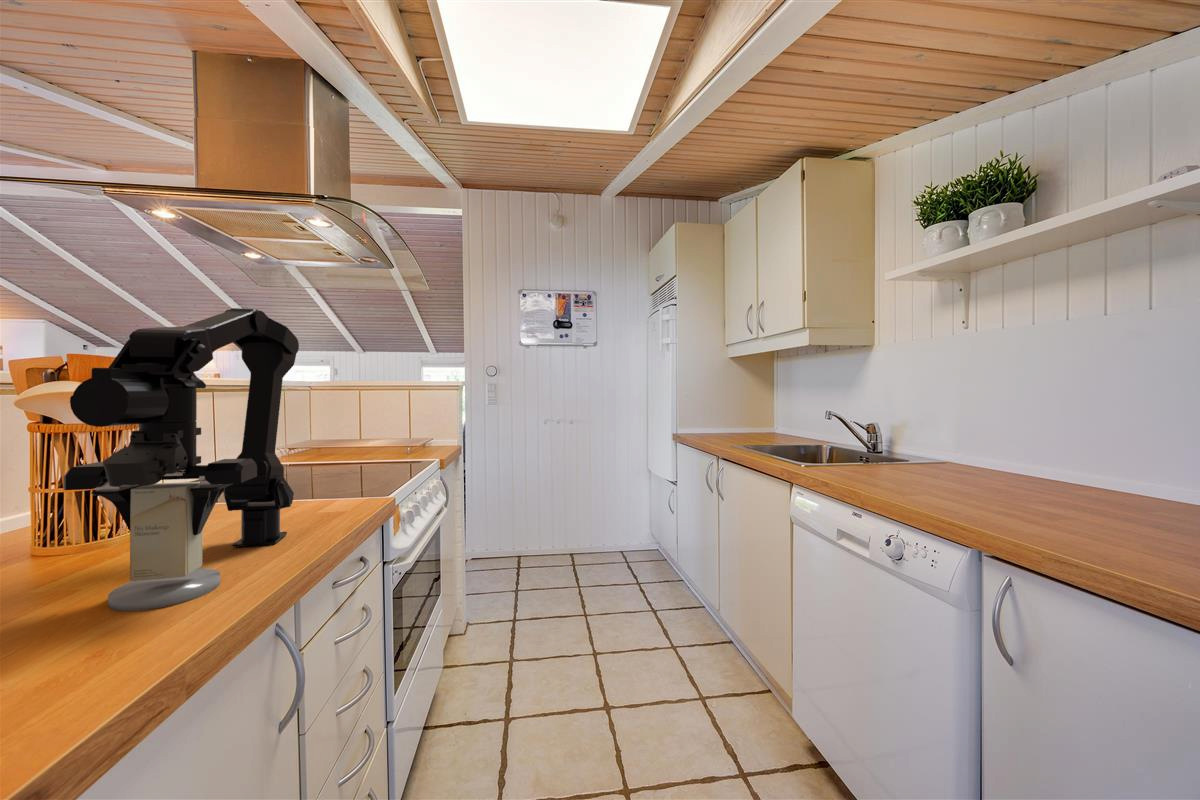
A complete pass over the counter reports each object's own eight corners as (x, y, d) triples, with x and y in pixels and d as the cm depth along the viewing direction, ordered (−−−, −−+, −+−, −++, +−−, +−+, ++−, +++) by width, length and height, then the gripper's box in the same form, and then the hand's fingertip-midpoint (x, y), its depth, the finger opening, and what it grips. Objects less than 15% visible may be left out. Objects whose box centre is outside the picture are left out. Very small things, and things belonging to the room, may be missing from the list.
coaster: (143, 581, 66) (143, 572, 66) (234, 573, 69) (234, 565, 69) (83, 616, 55) (83, 606, 55) (194, 605, 58) (194, 595, 58)
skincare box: (128, 582, 59) (126, 489, 59) (151, 570, 63) (149, 483, 63) (187, 577, 61) (184, 486, 60) (206, 564, 65) (203, 480, 65)
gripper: (22, 426, 51) (22, 564, 51) (221, 425, 57) (220, 549, 57) (97, 420, 62) (97, 535, 62) (258, 420, 67) (258, 525, 68)
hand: (168, 536), depth 62 cm, fingers closed on skincare box, 6 cm apart
